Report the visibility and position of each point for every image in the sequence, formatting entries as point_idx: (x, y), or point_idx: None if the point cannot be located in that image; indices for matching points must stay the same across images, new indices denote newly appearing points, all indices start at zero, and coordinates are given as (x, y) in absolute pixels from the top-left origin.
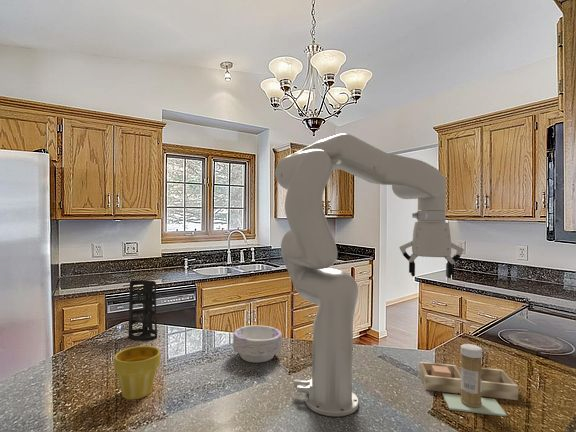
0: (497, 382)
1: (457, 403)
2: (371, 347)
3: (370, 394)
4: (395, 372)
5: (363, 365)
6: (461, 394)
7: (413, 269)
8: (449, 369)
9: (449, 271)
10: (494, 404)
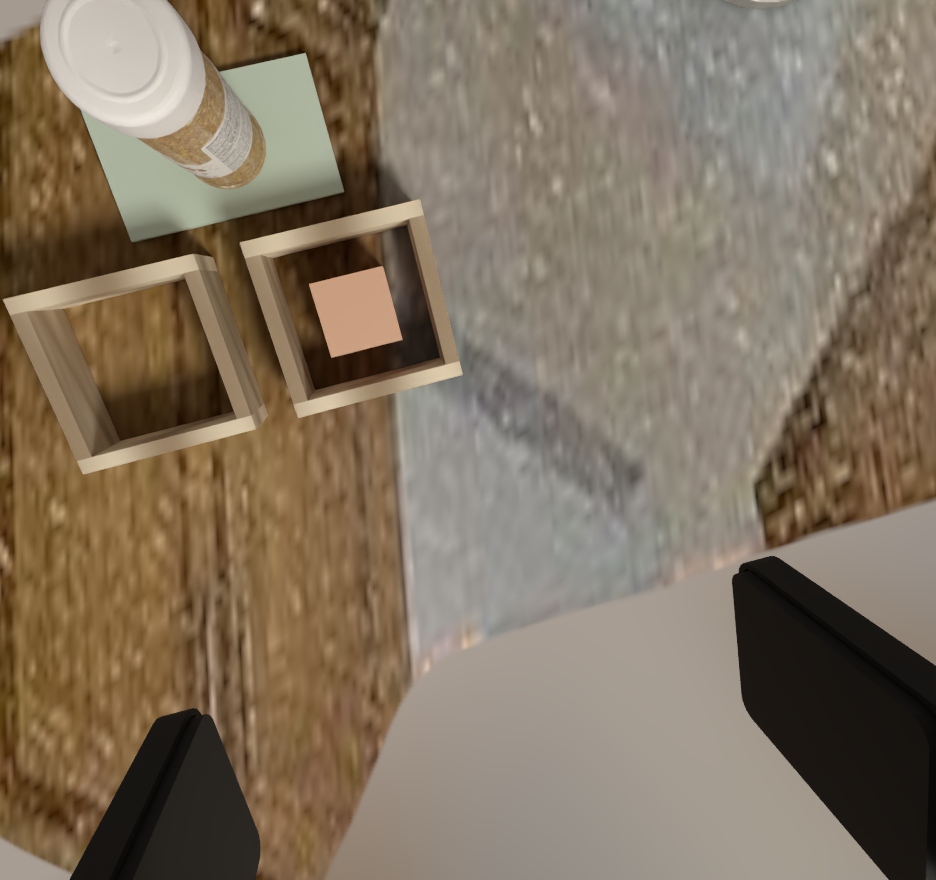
0: (97, 293)
1: (277, 114)
2: (679, 560)
3: (626, 45)
4: (551, 331)
5: (689, 337)
6: (255, 128)
7: (835, 615)
8: (325, 392)
9: (137, 800)
10: (130, 183)
